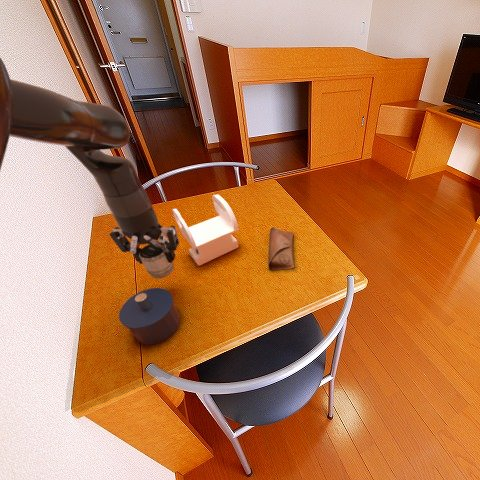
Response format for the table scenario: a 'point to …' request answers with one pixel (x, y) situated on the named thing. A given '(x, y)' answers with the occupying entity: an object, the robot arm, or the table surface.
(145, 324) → the pot lid
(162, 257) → the camera lens
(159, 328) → the pot
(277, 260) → the sunglasses case
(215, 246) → the tape dispenser
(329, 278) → the table surface
